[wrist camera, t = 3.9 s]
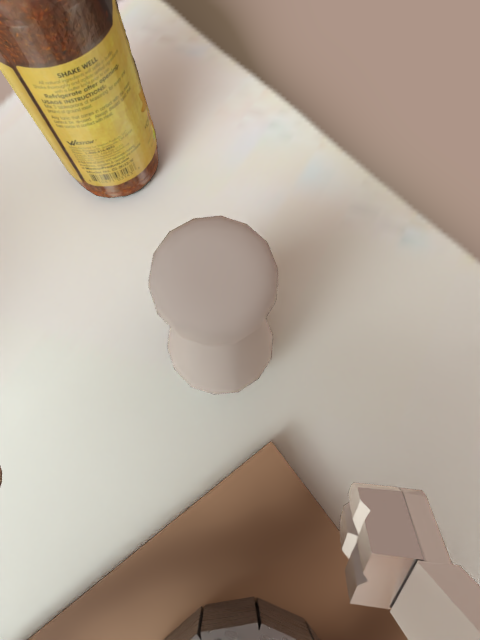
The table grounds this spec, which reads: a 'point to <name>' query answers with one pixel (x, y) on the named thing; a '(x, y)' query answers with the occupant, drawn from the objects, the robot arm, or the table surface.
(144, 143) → the sauce bottle
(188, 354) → the salt shaker
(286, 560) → the keeper plate
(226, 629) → the keeper collar
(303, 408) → the table surface
